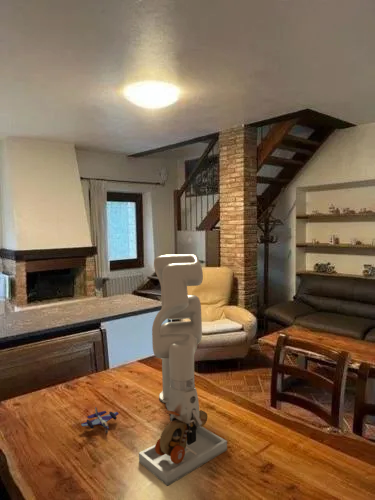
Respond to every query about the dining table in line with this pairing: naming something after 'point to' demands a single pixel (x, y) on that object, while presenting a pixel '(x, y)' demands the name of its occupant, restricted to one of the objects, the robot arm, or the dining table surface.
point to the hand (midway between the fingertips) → (183, 436)
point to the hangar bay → (194, 457)
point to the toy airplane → (100, 419)
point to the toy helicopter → (176, 437)
